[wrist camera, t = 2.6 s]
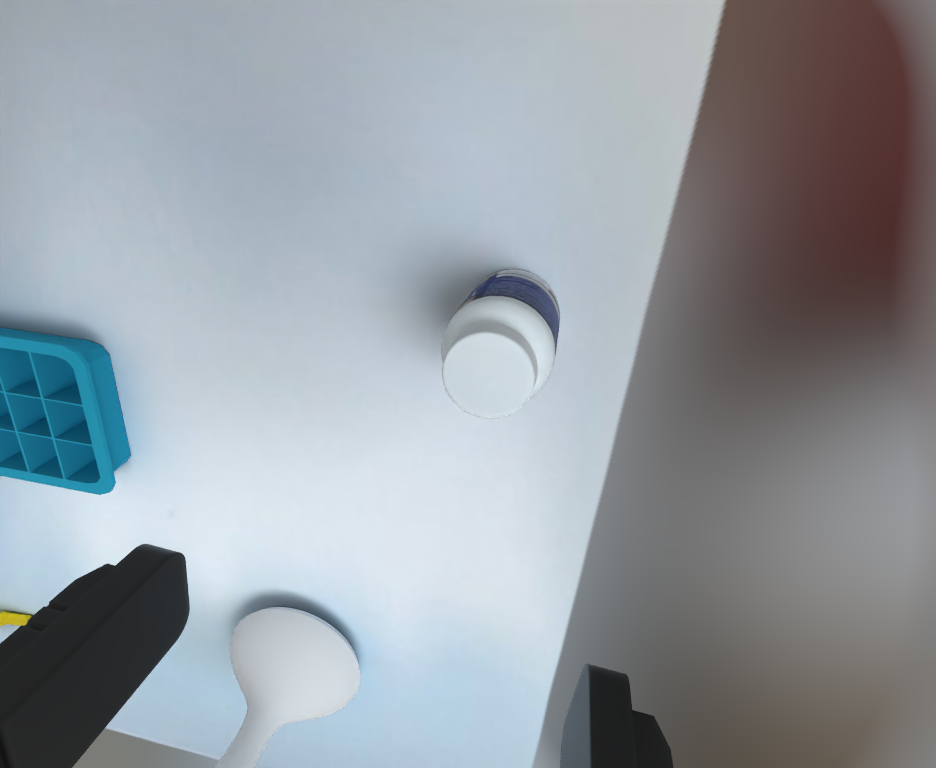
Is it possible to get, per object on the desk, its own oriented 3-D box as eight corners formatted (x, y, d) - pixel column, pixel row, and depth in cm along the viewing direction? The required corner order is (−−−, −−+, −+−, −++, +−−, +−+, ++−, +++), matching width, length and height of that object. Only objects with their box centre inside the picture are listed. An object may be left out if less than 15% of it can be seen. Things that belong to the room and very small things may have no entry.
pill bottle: (476, 258, 31) (433, 302, 22) (570, 278, 30) (565, 331, 21) (461, 346, 33) (417, 418, 24) (548, 366, 32) (535, 447, 24)
